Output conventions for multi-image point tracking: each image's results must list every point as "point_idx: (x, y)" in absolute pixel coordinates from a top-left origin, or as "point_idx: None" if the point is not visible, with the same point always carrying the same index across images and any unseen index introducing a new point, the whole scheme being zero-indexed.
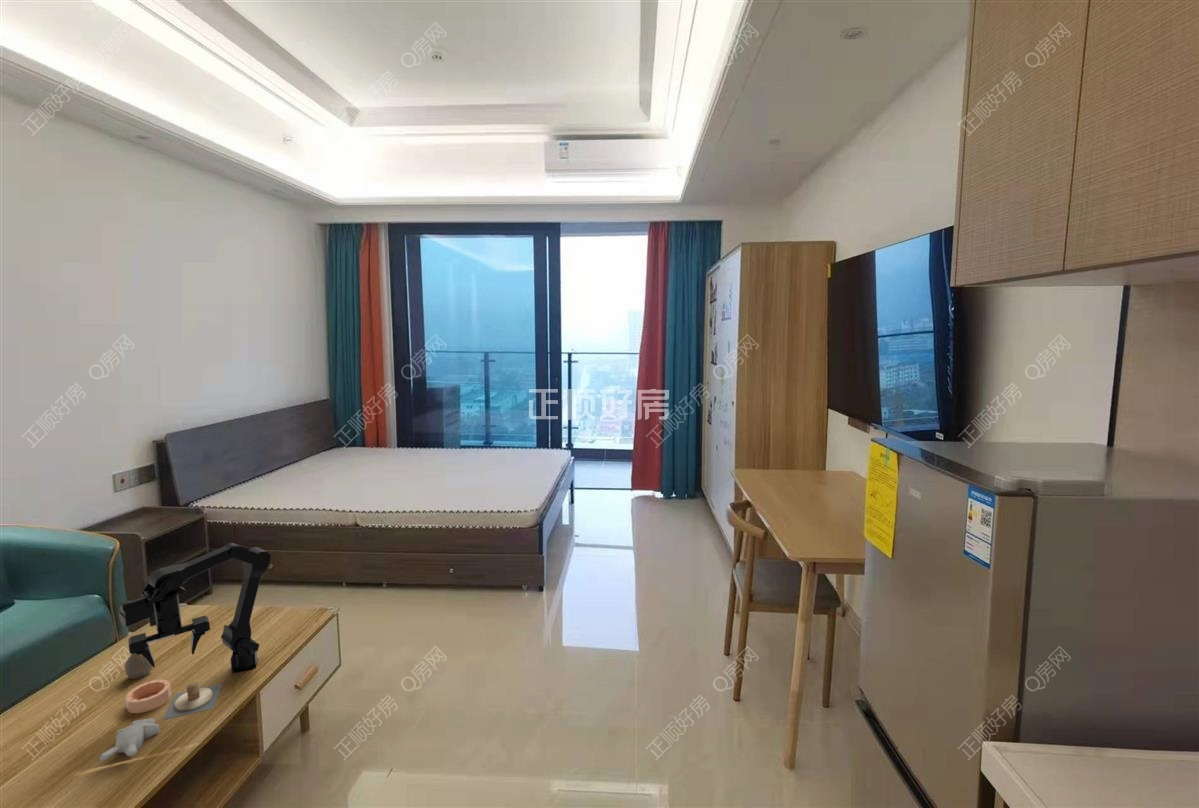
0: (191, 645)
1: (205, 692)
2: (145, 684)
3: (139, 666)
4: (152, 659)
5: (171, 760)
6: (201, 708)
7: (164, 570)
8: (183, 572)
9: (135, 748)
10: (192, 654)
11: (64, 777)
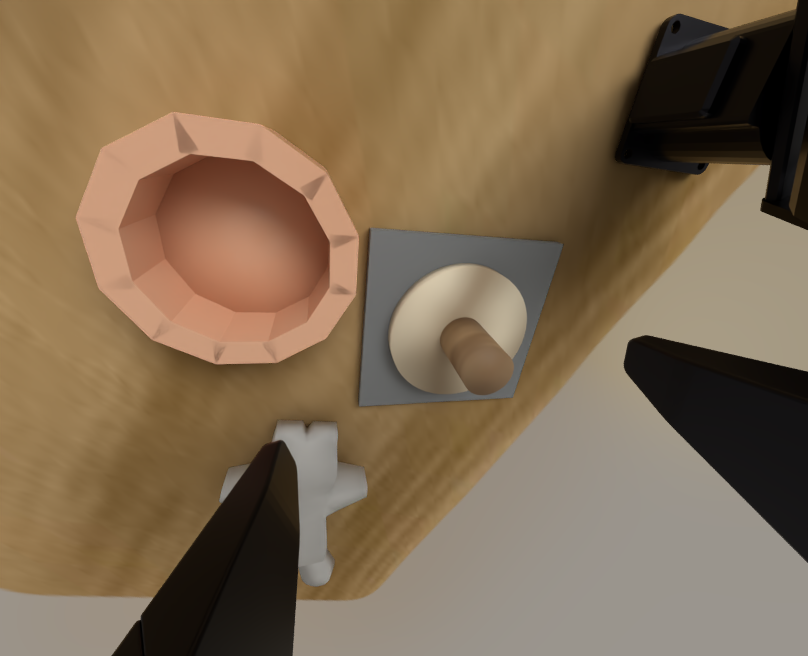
0: (745, 416)
1: (503, 317)
2: (168, 153)
3: None
4: (289, 645)
5: (411, 537)
6: None
7: None
8: None
9: (329, 569)
10: (629, 374)
11: (139, 553)
